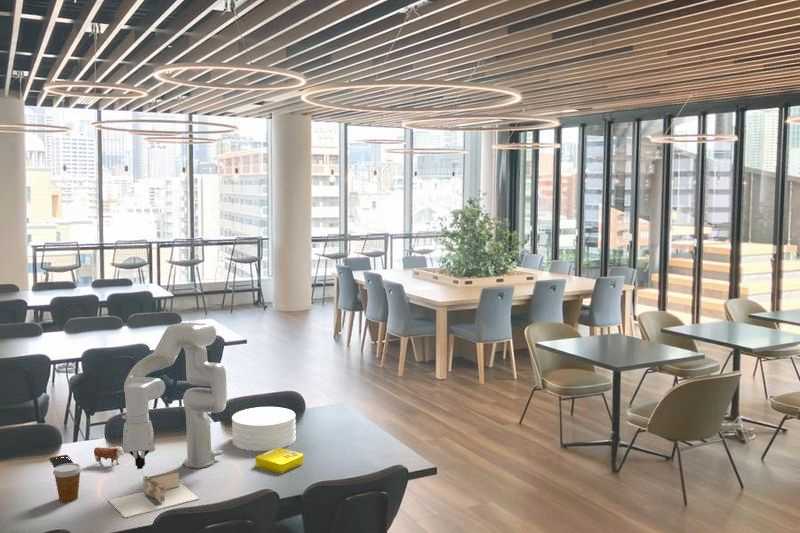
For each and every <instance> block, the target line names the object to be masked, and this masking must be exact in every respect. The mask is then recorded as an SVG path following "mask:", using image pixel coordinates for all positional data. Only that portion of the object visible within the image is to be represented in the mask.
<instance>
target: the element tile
mask: <svg viewBox="0 0 800 533" xmlns="http://www.w3.org/2000/svg"><path fill="white" fill-rule="evenodd" d="M254 460H255V461H254V462H255V468H257V469H261V470H265V471H269V472H272V473H275V474H284V473H286V472H290V471H291V470H292V469H293V470H294V469H296V468H297V467H300V466H301V465H303V464H304V454H303V453H301V452H298V451H295V450H290V449H286V448H275V449H273V450H267V451H265V452H263V453H261V454H258V455H256V456H255V458H254Z"/></svg>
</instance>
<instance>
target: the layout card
mask: <svg viewBox="0 0 800 533" xmlns="http://www.w3.org/2000/svg"><path fill="white" fill-rule="evenodd" d="M179 475H180V474H179V470H173V471H168V472H162V473H159V474H155V475H151V476H147V475H145V476H143V477H142V478H143V480H142V482H143V483H142V484H143V491H141V492H138V493H133V494H129V495H126V496H120V497H117V498H113V499H108V502H109V503H110V504H111V506H113V508H114V509H115V508H116V509H117V510H118V511H119V512H120V513H121V514H120V513H119V512H118V511H117V512H118V513H119V514H120V515H121V516H122V517H123V518H124V517H125V518H124V519H127V518H126V517H128V518H130V517H131V516H132V517H136V516H139V515H143V514H147V513H150V512H155V511H159V510H163V509H167V508H171V507H175V506H178V505H181V504H186V503H190V502H194V501H197V500H200V498H199V497H198V496H197V495H196V494H194V492H192V491H190V489H188V488H187V487H186V486H185V485H183V484H182V483H181V482H180V479H179ZM146 479H151V480H153V481H155V482H157V483H158V484H160V485H162V486H164V494H165V501H164V502H160V501H158V500H157V499H155V498H153V497H151V496H150V495H148V494H147V492H146ZM116 509H115V510H116ZM135 515H136V516H135Z"/></svg>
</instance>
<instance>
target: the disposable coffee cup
mask: <svg viewBox="0 0 800 533" xmlns="http://www.w3.org/2000/svg"><path fill="white" fill-rule="evenodd" d="M81 471H82V467H81V465H80V464H79V463H74V462H73V463H67V464H62V465H59V466H57V467H55V466H54V469H53V472H52V474H53V475H54V479H55V484H56V490H57V495H58V500H59V501H60V502H62V503H70V502H71V503H72V502H74V501H77V500H78V498H79V488H80V480H81V479H80V477H81Z"/></svg>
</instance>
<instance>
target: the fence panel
mask: <svg viewBox="0 0 800 533" xmlns="http://www.w3.org/2000/svg"><path fill="white" fill-rule="evenodd" d="M146 492H147V494H148V495H150V496H151V497H153V498H155V499H157V500H158V501H160V502H164V501H165V494H164V486H162V485H160V484H158V483H157V482H155V481H153V480H151V479H149V478H148V479H146Z"/></svg>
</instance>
